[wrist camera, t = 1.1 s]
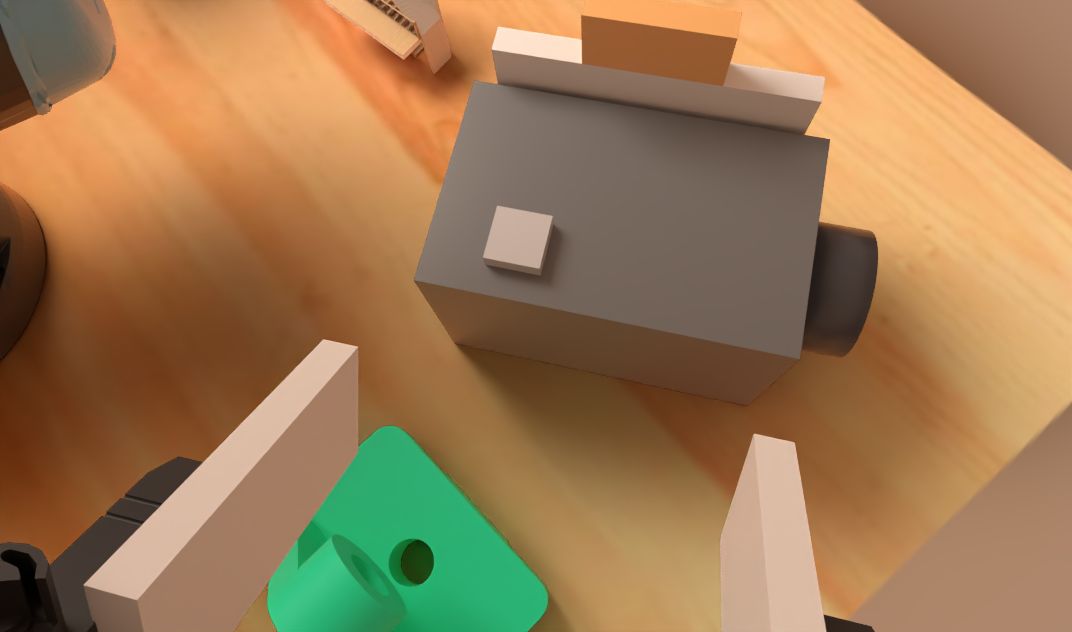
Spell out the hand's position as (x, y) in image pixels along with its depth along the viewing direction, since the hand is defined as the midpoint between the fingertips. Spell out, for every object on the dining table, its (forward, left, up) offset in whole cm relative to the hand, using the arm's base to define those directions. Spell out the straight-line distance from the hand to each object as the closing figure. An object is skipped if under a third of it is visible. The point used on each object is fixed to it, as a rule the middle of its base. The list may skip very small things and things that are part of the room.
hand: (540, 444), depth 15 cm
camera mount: (-3, -7, -24) cm, 25 cm away
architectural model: (-28, +12, -24) cm, 39 cm away
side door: (-10, +15, -23) cm, 29 cm away
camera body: (-6, +11, -24) cm, 27 cm away
